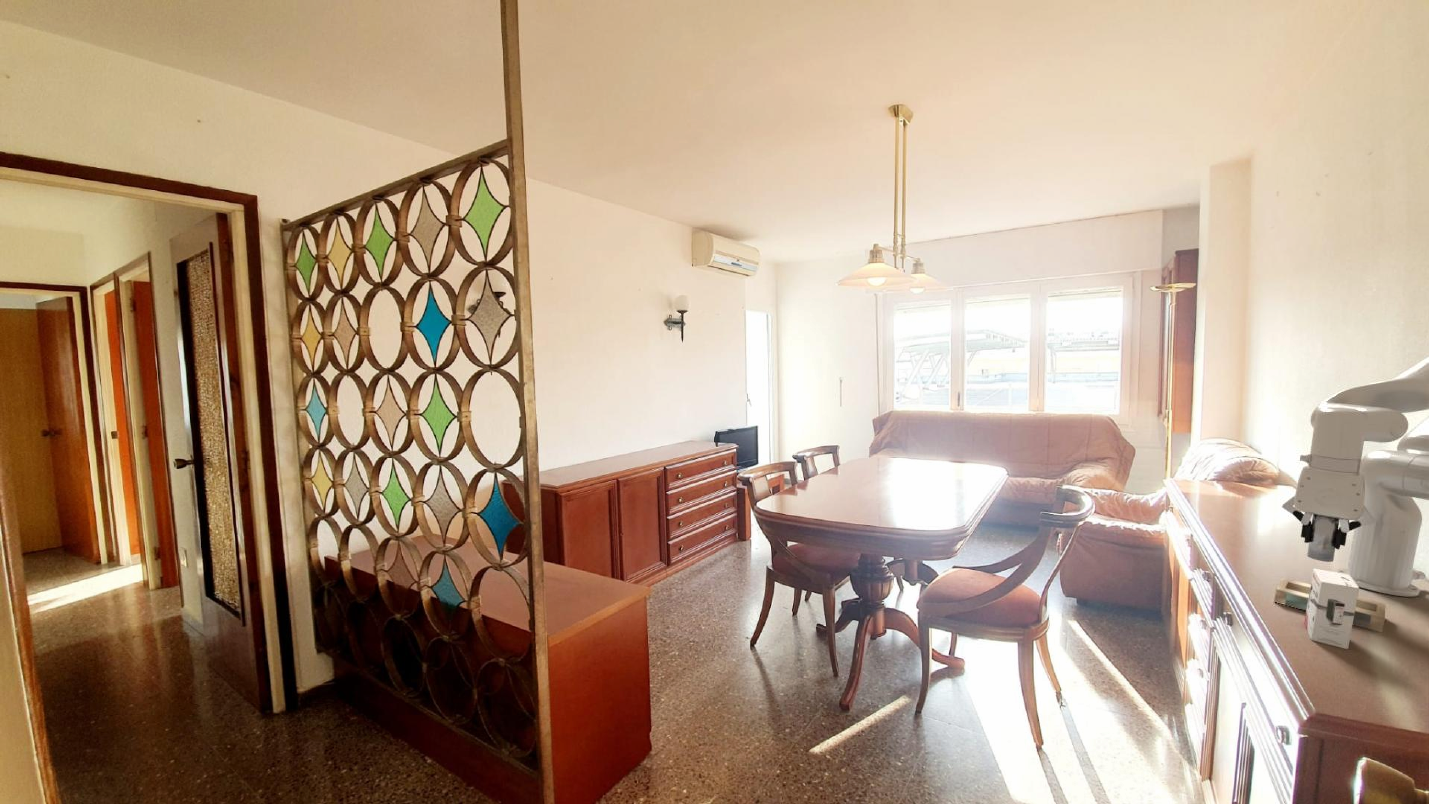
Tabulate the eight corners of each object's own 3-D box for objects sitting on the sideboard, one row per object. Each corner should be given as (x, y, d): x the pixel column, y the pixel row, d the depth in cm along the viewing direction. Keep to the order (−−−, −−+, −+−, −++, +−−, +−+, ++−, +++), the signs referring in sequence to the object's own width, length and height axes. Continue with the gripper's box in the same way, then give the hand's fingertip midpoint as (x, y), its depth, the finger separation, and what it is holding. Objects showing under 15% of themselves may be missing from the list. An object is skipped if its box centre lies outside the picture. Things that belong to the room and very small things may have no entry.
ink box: (1302, 623, 112) (1312, 566, 110) (1338, 631, 109) (1349, 573, 107) (1310, 640, 105) (1320, 580, 103) (1349, 650, 102) (1360, 588, 100)
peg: (1317, 554, 128) (1324, 507, 126) (1338, 561, 124) (1346, 513, 122) (1301, 554, 127) (1308, 508, 126) (1322, 562, 123) (1329, 513, 122)
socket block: (1273, 602, 120) (1275, 589, 120) (1280, 590, 126) (1282, 577, 126) (1381, 633, 109) (1384, 618, 108) (1383, 617, 115) (1385, 603, 115)
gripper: (1277, 459, 127) (1267, 537, 129) (1393, 474, 114) (1379, 561, 116) (1282, 455, 131) (1272, 530, 134) (1393, 468, 119) (1380, 551, 121)
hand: (1322, 543), depth 125 cm, fingers closed on peg, 4 cm apart
